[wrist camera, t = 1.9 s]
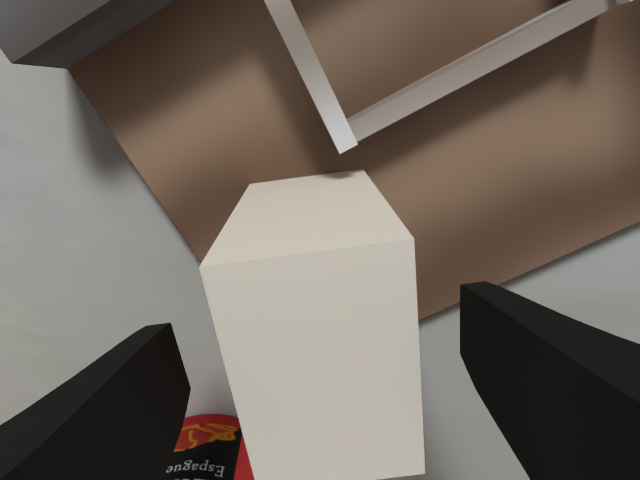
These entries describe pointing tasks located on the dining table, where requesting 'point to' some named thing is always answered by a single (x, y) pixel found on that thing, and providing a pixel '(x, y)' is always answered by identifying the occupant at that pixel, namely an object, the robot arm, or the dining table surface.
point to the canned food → (210, 450)
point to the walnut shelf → (370, 112)
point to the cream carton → (320, 329)
